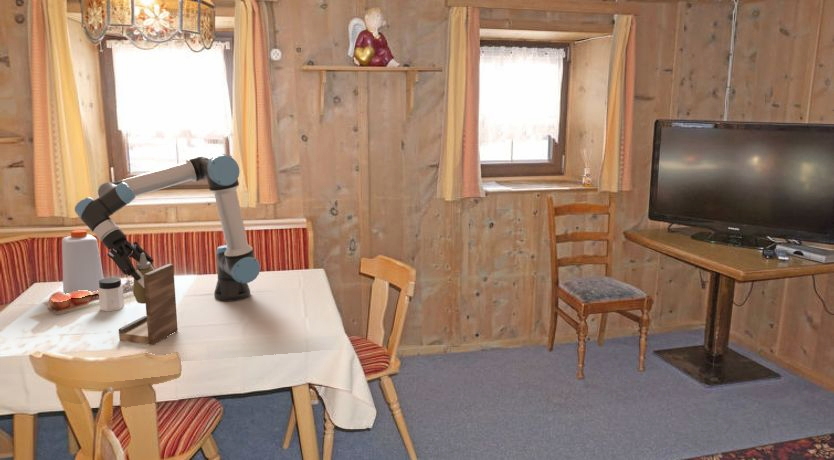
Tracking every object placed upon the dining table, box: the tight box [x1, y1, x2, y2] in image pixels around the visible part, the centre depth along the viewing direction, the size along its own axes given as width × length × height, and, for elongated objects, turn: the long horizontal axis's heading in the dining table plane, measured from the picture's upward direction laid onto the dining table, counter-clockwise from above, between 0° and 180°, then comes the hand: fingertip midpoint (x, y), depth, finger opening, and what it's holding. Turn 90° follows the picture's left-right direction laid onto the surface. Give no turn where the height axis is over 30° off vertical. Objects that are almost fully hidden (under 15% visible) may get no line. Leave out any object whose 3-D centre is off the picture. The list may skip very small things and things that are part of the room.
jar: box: [98, 276, 125, 312], centre depth 251 cm, size 9×8×12 cm
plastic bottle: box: [61, 229, 105, 294], centre depth 268 cm, size 15×15×28 cm
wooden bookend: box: [118, 263, 179, 346], centre depth 222 cm, size 14×14×26 cm
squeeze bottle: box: [132, 253, 154, 305], centre depth 220 cm, size 8×8×18 cm
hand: (153, 282), depth 220 cm, fingers closed on squeeze bottle, 6 cm apart
